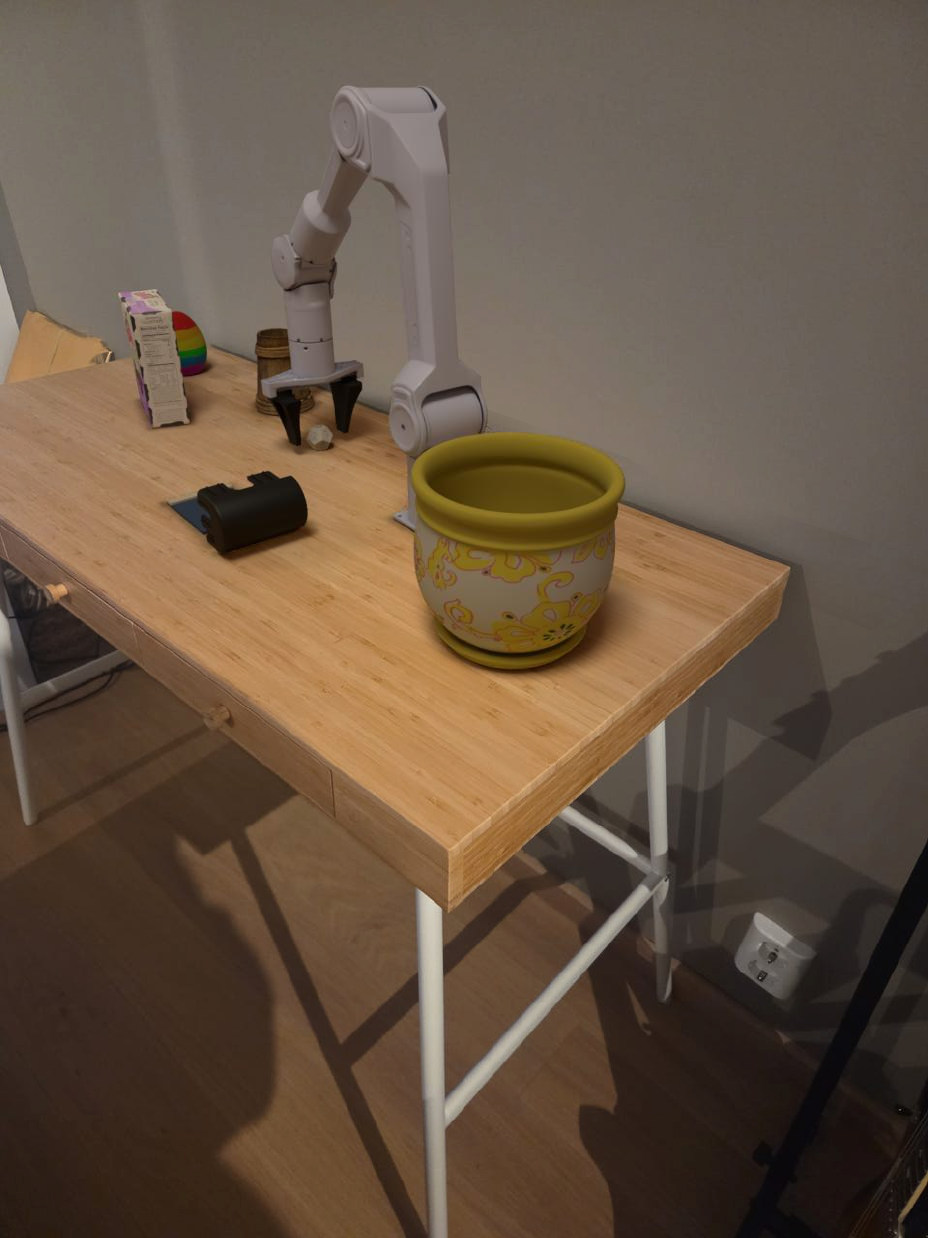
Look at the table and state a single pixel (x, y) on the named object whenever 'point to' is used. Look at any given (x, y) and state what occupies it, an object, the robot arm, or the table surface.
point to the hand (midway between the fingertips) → (319, 437)
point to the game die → (319, 437)
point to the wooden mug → (275, 367)
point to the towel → (190, 509)
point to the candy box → (155, 357)
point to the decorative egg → (189, 344)
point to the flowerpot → (514, 543)
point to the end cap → (252, 511)
